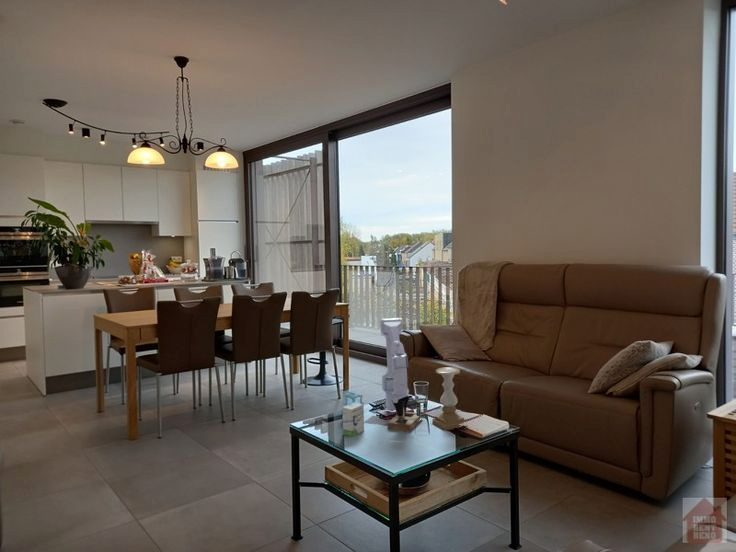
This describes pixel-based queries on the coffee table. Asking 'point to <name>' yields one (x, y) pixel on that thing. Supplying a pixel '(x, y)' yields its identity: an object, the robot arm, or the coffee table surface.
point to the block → (408, 425)
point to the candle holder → (448, 401)
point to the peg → (401, 418)
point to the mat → (376, 420)
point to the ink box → (353, 419)
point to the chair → (352, 396)
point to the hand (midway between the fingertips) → (401, 414)
